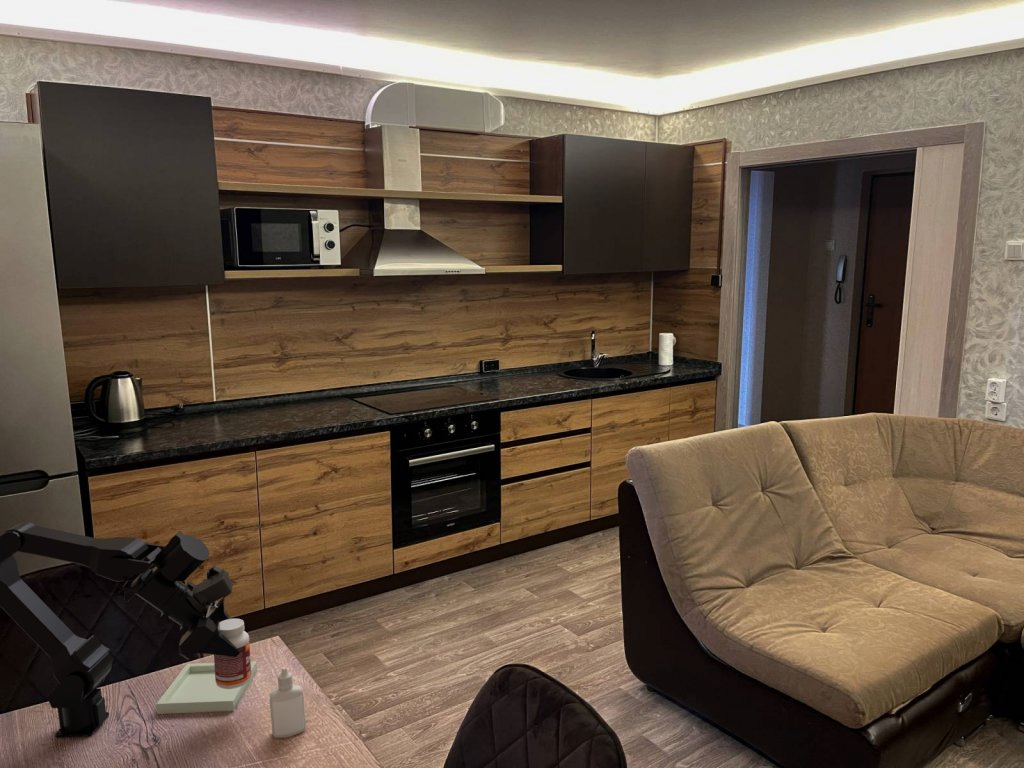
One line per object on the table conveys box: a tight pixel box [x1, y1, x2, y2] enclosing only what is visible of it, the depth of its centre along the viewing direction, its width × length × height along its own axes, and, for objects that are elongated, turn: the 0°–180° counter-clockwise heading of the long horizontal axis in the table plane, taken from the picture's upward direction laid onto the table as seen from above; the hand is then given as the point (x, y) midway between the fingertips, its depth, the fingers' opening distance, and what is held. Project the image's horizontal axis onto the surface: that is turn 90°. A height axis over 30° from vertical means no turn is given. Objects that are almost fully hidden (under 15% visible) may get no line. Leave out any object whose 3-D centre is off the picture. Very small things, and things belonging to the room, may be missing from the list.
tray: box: [156, 660, 259, 715], centre depth 144 cm, size 14×14×2 cm
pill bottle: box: [213, 618, 251, 689], centre depth 135 cm, size 6×6×11 cm
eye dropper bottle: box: [269, 666, 307, 739], centre depth 130 cm, size 4×6×12 cm
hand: (239, 645), depth 136 cm, fingers closed on pill bottle, 6 cm apart
